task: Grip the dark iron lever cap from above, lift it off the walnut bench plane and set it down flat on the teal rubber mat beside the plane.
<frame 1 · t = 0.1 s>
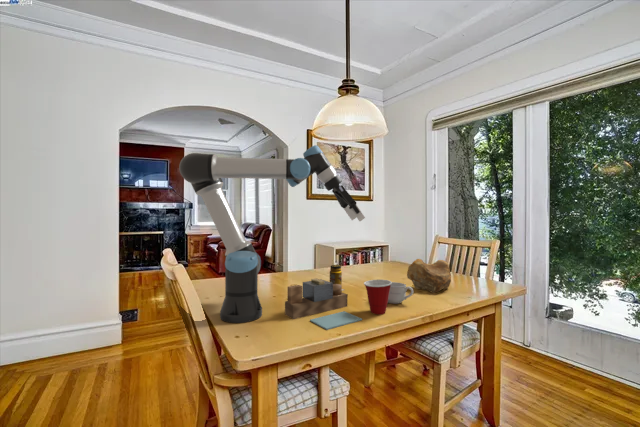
hand: (358, 219, 134), 36 cm above the table, tool tilted 35°, fingers open, 13 cm apart
plane body: (317, 310, 122), on the table
rubber mat: (336, 320, 111), on the table
rough brown rock: (432, 290, 155), on the table
condiment: (333, 290, 154), on the table
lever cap: (317, 297, 122), point 5 cm above the table, touching plane body
plastic cup: (377, 312, 121), on the table
teacup: (396, 303, 133), on the table
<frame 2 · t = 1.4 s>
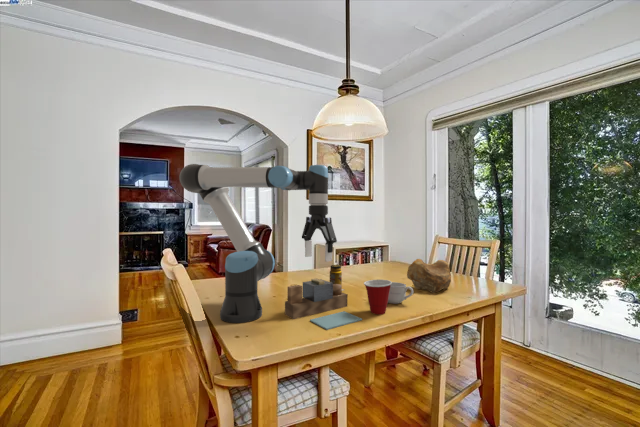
hand: (318, 258, 122), 20 cm above the table, tool pointing down, fingers open, 13 cm apart
nothing on the table moved.
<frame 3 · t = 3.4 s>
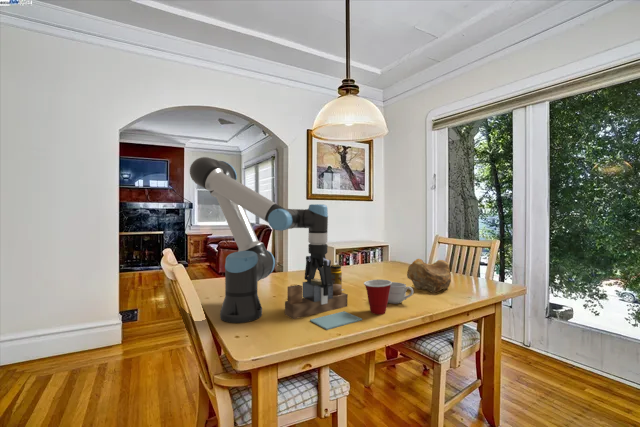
hand: (317, 300, 122), 4 cm above the table, tool pointing down, fingers closed on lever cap, 8 cm apart
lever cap: (317, 297, 122), point 5 cm above the table, touching gripper, plane body
everything else where it was.
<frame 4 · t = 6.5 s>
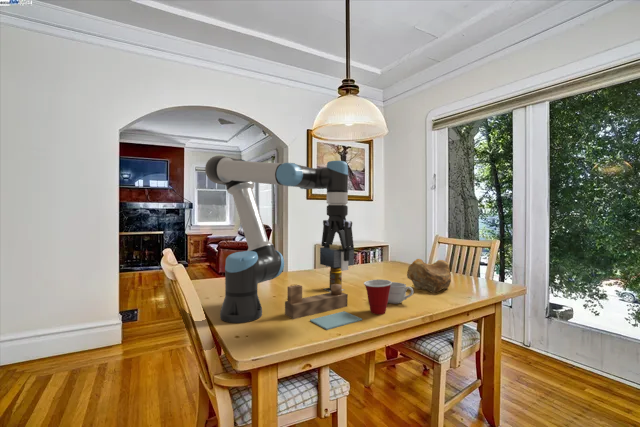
hand: (336, 268, 111), 19 cm above the table, tool pointing down, fingers closed on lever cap, 8 cm apart
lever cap: (336, 264, 111), point 20 cm above the table, touching gripper
everything else where it was.
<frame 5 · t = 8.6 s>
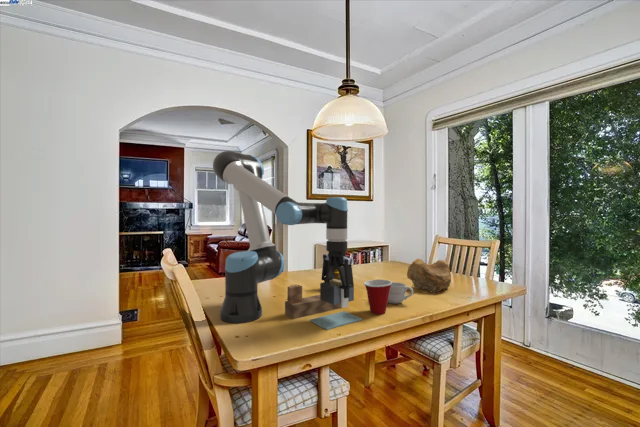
hand: (336, 303, 111), 6 cm above the table, tool pointing down, fingers closed on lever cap, 8 cm apart
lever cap: (336, 300, 111), point 7 cm above the table, touching gripper
everything else where it was.
when the fingers open (2 cm above the table, at t = 10.0 s): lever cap drops 2 cm, resting on rubber mat.
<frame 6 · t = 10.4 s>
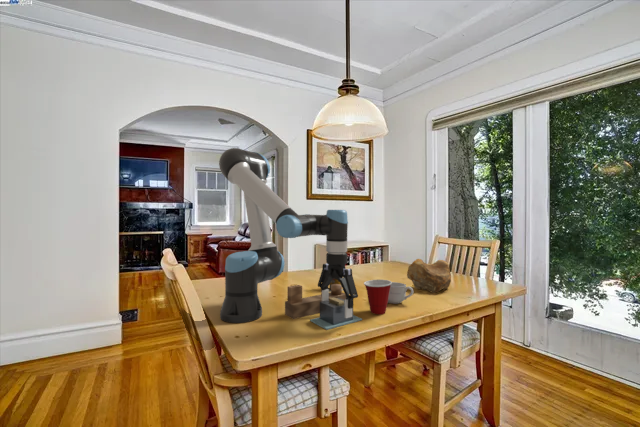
hand: (336, 312, 111), 3 cm above the table, tool pointing down, fingers open, 13 cm apart
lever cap: (336, 319, 111), resting on rubber mat
everything else where it was.
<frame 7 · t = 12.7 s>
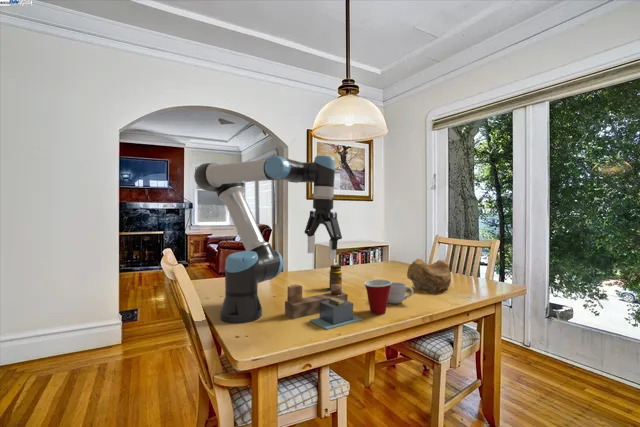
hand: (321, 255, 115), 23 cm above the table, tool pointing down, fingers open, 13 cm apart
nothing on the table moved.
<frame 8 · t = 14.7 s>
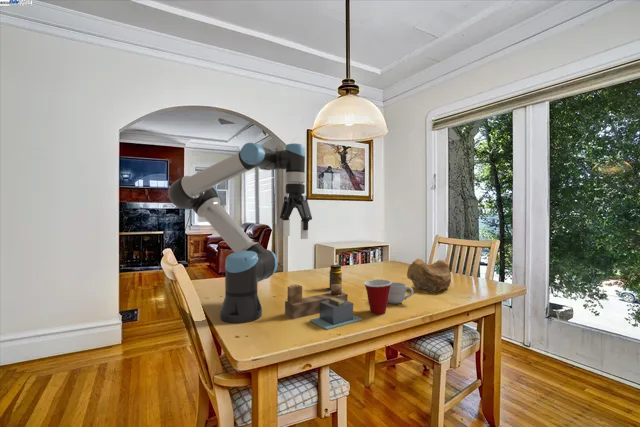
hand: (294, 237, 122), 29 cm above the table, tool pointing down, fingers open, 13 cm apart
nothing on the table moved.
at the end: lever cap inside the target area on the rubber mat (0.1 cm from its centre), point 0.5 cm above the rubber mat's base; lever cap tilted 0°; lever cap touching rubber mat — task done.
